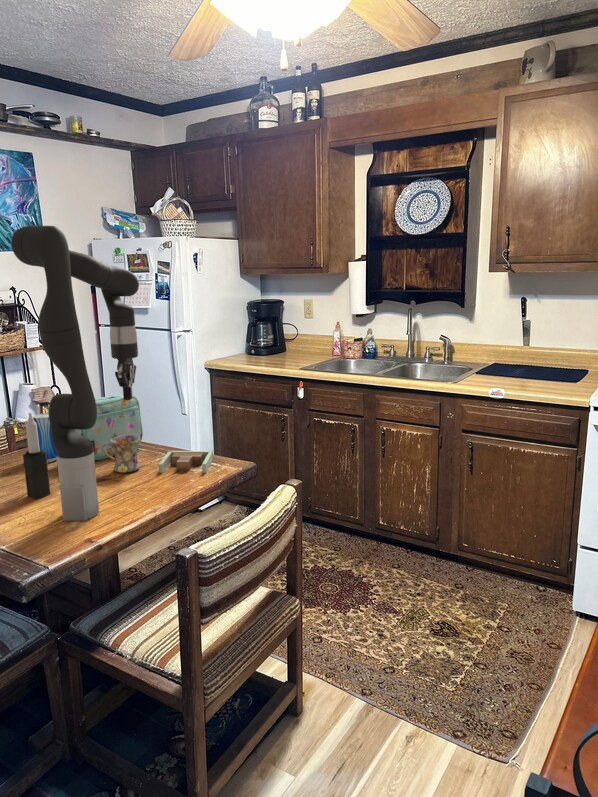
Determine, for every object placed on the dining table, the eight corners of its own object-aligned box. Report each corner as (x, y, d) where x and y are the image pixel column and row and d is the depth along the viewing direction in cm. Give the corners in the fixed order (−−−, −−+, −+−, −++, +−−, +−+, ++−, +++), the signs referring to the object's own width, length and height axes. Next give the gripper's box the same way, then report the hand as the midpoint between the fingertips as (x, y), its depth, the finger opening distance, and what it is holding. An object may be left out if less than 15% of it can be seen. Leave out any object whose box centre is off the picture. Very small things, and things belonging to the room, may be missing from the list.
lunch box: (87, 466, 199) (81, 404, 194) (67, 461, 204) (61, 401, 199) (146, 446, 221) (142, 390, 216) (127, 442, 226) (123, 387, 221)
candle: (52, 493, 174) (43, 411, 169) (37, 499, 170) (27, 415, 165) (41, 490, 177) (32, 409, 171) (25, 496, 173) (16, 413, 167)
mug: (143, 464, 200) (141, 434, 197) (139, 473, 191) (137, 442, 188) (107, 466, 198) (104, 436, 196) (101, 475, 189) (98, 444, 187)
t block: (198, 470, 193) (197, 461, 192) (167, 470, 193) (167, 461, 193) (203, 461, 203) (203, 452, 202) (174, 461, 203) (174, 453, 202)
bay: (206, 472, 191) (205, 464, 190) (159, 472, 191) (158, 464, 191) (213, 459, 205) (213, 450, 204) (169, 459, 205) (169, 451, 204)
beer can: (34, 458, 208) (29, 414, 205) (60, 454, 211) (55, 411, 208) (35, 465, 201) (30, 419, 197) (61, 461, 204) (57, 416, 201)
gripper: (129, 344, 165) (134, 404, 168) (143, 338, 177) (146, 394, 181) (103, 344, 165) (108, 404, 168) (118, 338, 178) (122, 394, 181)
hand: (128, 399), depth 175 cm, fingers closed
